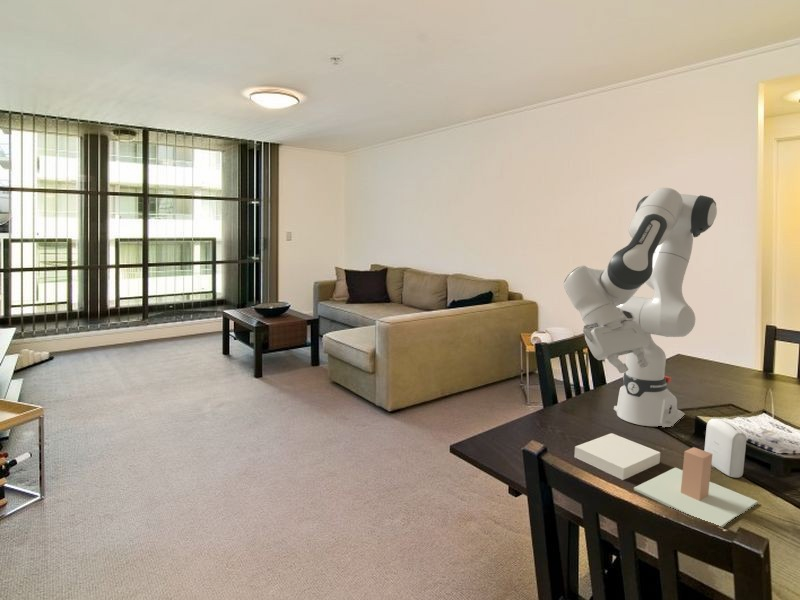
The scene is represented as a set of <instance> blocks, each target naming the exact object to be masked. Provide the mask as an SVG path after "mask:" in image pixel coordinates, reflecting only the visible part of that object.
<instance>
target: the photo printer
mask: <svg viewBox="0 0 800 600" xmlns="http://www.w3.org/2000/svg"><path fill="white" fill-rule="evenodd" d="M705 429H706V430H705V441H704V450H703V451H706V452H708V453H711V454H712V464H711V467H713V468H715V469H717V470H718V471H720V472H721V473H723V474H725V475H726V476H728V477H730V478H736V479H737V478H741V477H742V476H743V474H744V468H745V467H744V466H745V458H746V450H747V449H746V448H747V446H746V445H747V436H746V434H745V433H744V432H743V431H742V430H741V429H740V428H739V427H738V426H736V425H735V424H734V423H732V422H730V421H728V420H725V419H723V418H710V419H709V420H708V422H707V423H706V428H705Z"/></svg>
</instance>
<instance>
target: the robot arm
mask: <svg viewBox="0 0 800 600" xmlns="http://www.w3.org/2000/svg"><path fill="white" fill-rule="evenodd" d="M717 210H718V209H717V203H716V200H714V198H712V197H710V196H706V195H701V194H700V195H692V194H685V193H684V194H682V193H681V194H680V192H679V191H677V190H675V189H674V188H670V187H659V188H657V189H655V190H654V191H652V192H651V193H650V194H648V195H646V196H644V197H642V198H641V199H640V200H639V201H638V203H637V205H636V207H635V214H633V217H632V219H631V222H630V225H629V228H628V234H629V236H630V237H631V240H630V241H629V243H628V244H627V245H626V246H624V247H622V248H621V249H620V250H618V251H616V252H615V253H614V254H613V255H612V257H611V259H610V261H609V262H608V265H607V266H606V267H605V269H597V268H596V269H595V268H590V267H588V266H586V265H580V266H578V267H576V268H575V269H573V270H572V271H571V272H569V274H567V276H566V278H565V280H564V282H563V287H564V290H565V293H566V295H567V297H568V298H569V300H570V302H571V304H572V306H573V307H574V308H575V309H576V310H577V311H578V312H579V313H580V315H581V318H582V321H583V322H584V323H583V324H584V326H583V329H582V332H583V333H582V334H584V339H585V341H586V344H587V347H588V349H589V350H590V352H591V354H592V356H593V357H594V358H595V359H596V360H598V361H602V360H606V359H607V361H608V362H609V363H610V364H611V365H612V366H613V367H615V368H616V369H617V371H618V372H619V374H623V376H622V377H623V379H622V384H623V385H621V387H620V388H619V392H618V399H617V405H614V406H613V410H614V411H615V412H616V415H617V417H618V418H620V419H621V420H623V421H625V422H628V423H631V424H635V425H639V426H643V427H644V426H646V427H658V426H662V427H661V428H665V427H671V426H672V427H674V426H675V425H676V424H677V423H678V422H679V421H680V420H679V419H681V418H682V417H683V416H684V415H685V412H683V411H682V410H680V409H678V399H677V397H676V395H674V394H673V393H672V392H671V391H670V390H669V389H668V386H667V384H670V383H671V382H672V377H671V376H667V375H665V373H666V362H667V361H666V360H667V355H666V353H665V351H664V350H663V348H661V347H660V346H659V345H658V344H656V342H655V341H654V340H653V338H652V335H654V336H661V337H666V338H683V337H686V336H687V335H689V334H690V333H691V332H692V331H693V330H694V327H695V325H696V314H695V312H694V310H693V308H692V307H691V306H690V305H689V303H687V301H686V300H685V298H684V294H683V282H684V279H685V276H686V272H687V268H688V266H689V263H690V259H691V255H692V250H693V243H694V238H697V237H699V236H700V235H701V234H703V233H705V232H706V231H707V230H709V229H710V228H711V227H712V225H713V224H714V222H715V220H716V217H717V215H718V214H717V212H718V211H717ZM645 283H646V285H647V286H648V287H650V288H651V289H652V290H654V292H653V296H652V297H650V298H649V297H644V296H643V297H642V296H634V295H635V294H637V291H639V289H641V287H642V286H643V285H644V284H645ZM623 355H625V361H626V362H625V363H624V362H622V360H620V359H619V356H623ZM684 417H685V416H684ZM684 417H683V418H684ZM683 418H682V419H683ZM682 419H681V420H682ZM678 420H679V421H678ZM677 421H678V422H677ZM676 422H677V423H676ZM675 423H676V424H675ZM674 424H675V425H674ZM672 427H671V428H672Z"/></svg>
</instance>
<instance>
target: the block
mask: <svg viewBox="0 0 800 600" xmlns="http://www.w3.org/2000/svg"><path fill="white" fill-rule="evenodd" d="M683 456H684V457H683V464H682V470H683V473H682V484H681V493H683V494H685V495H687V496H689V497H692V498H694V499H696V500H698V501H700V500H702V499H703V498H705V497H707V496H708V493H709V483H710V482H711V472H712V471H711V470H712V465H711V464H712V454H711V453H708V452H706V451H704V450H703V449H700V448H697V447H695V446H694V447H690V448H689V449H686V450H684V453H683Z"/></svg>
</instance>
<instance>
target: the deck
mask: <svg viewBox="0 0 800 600" xmlns="http://www.w3.org/2000/svg"><path fill="white" fill-rule="evenodd" d="M573 458H575V459H578V460H579V461H581V462H584V463H586V464H588V465H591V466H592V467H595V468H597V469H599V470H601V471H603V472H604V473H607V474H609V475H610V476H614V477H616V478H617V479H620V480H622V481H624V480H627V479H629V478H631V477H633V476H635V475H637V474H640V473H642V472H643V471H646V470H648V469H650V468H653V467H655V466H657V465H659V464H660V462H661V461H660V460H661V452H660V451H658V450H655V449H653V448H651V447H648V446H645V445H643V444H640V443H637V442H635V441H633V440H630V439H628V438H625V437H622V436H620V435H619V434H618V435H617V434H615V433H612V432H611V433H608V434H605V435H603V436H600V437H597V438H595V439H592V440H590V441H586V442H584V443H581V444H578V445H576V446H574V457H573Z"/></svg>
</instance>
